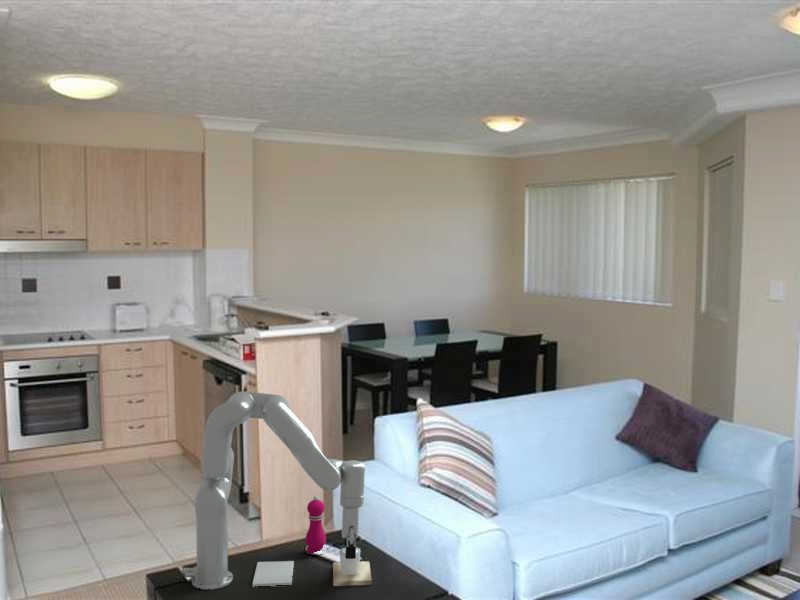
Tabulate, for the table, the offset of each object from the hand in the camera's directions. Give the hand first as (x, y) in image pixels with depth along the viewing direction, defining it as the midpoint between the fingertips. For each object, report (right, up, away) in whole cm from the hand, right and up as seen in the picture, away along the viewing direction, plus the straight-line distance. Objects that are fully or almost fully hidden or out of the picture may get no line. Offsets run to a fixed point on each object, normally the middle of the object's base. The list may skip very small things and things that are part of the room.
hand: (350, 552), depth 233 cm
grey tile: (-25, -8, 0) cm, 26 cm away
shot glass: (0, -7, 0) cm, 7 cm away
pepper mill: (-13, -7, +18) cm, 24 cm away
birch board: (+1, -8, +1) cm, 8 cm away
